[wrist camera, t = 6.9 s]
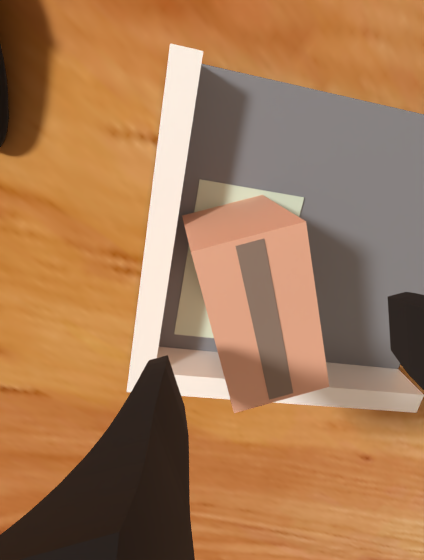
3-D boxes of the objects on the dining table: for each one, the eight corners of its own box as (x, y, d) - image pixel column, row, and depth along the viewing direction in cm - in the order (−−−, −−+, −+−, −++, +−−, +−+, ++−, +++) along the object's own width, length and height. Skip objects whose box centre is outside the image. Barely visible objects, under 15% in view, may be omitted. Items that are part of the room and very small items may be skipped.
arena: (484, 130, 19) (540, 130, 16) (386, 379, 24) (416, 412, 21) (168, 59, 17) (170, 43, 14) (131, 357, 22) (126, 391, 19)
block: (285, 319, 21) (329, 387, 15) (214, 338, 21) (234, 413, 15) (262, 194, 18) (306, 221, 13) (182, 215, 18) (190, 252, 13)
